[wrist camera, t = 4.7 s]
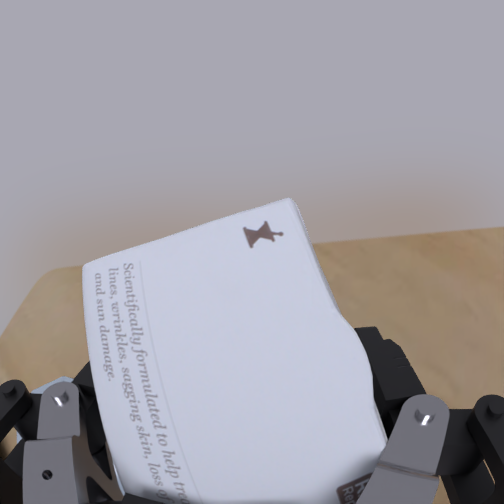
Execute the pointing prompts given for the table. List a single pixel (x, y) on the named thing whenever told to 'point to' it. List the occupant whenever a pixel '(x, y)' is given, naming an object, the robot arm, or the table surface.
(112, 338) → the skincare box
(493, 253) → the table surface
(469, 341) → the table surface
